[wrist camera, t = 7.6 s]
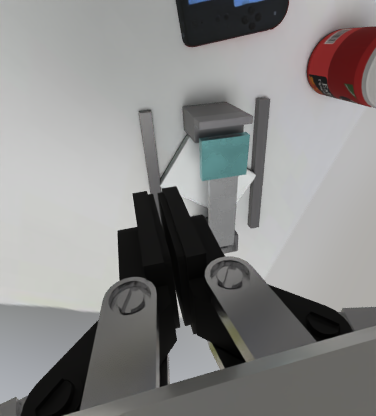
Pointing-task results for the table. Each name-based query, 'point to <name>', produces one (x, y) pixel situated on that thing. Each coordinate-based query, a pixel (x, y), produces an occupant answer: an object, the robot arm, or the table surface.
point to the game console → (227, 18)
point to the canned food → (346, 66)
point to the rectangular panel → (223, 182)
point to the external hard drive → (194, 174)
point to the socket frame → (214, 126)
